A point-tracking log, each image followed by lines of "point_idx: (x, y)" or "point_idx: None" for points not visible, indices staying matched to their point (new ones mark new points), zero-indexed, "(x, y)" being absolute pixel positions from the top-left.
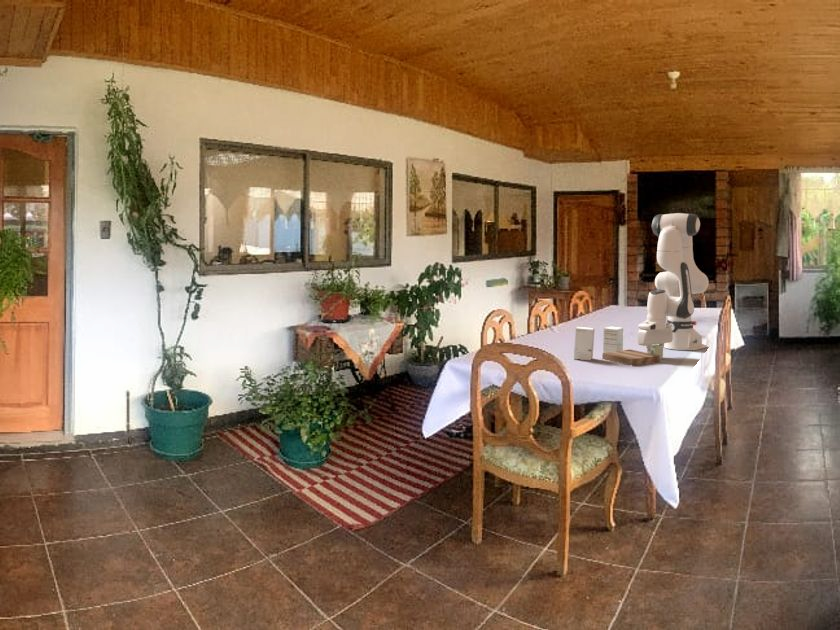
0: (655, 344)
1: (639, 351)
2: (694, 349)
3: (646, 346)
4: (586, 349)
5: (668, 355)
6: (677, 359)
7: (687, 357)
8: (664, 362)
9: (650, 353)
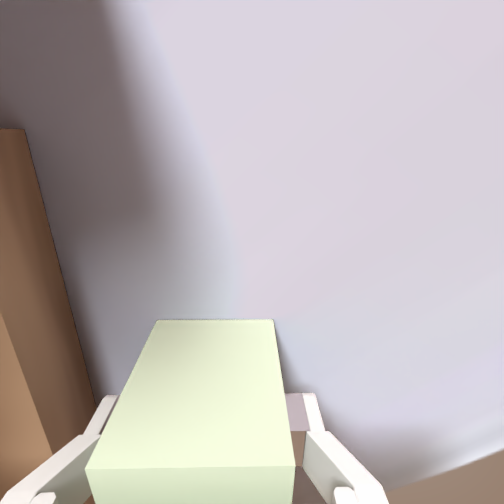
0: (265, 493)
1: (2, 342)
2: None
3: (6, 500)
4: None
5: (441, 350)
6: None
7: (467, 463)
8: None
9: None
